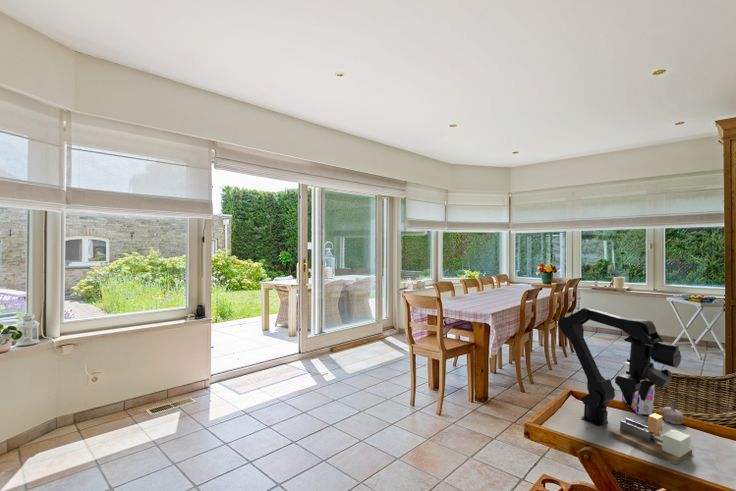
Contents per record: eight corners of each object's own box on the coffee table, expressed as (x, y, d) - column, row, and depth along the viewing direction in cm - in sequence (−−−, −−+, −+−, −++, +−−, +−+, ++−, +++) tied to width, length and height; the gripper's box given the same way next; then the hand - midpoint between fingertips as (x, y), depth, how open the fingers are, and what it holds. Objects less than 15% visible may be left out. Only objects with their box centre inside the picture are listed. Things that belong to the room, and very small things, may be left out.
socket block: (661, 450, 121) (663, 434, 121) (671, 444, 125) (673, 429, 125) (679, 457, 117) (680, 441, 117) (689, 451, 121) (690, 435, 121)
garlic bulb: (670, 415, 149) (671, 395, 149) (690, 425, 142) (692, 403, 142) (655, 417, 147) (656, 396, 147) (674, 427, 140) (676, 405, 140)
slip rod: (640, 436, 128) (642, 413, 127) (646, 433, 130) (648, 410, 129) (677, 451, 119) (678, 427, 119) (682, 448, 121) (684, 424, 121)
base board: (608, 434, 132) (609, 430, 132) (626, 426, 139) (626, 422, 139) (675, 464, 116) (675, 459, 116) (691, 454, 122) (692, 449, 122)
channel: (619, 429, 133) (620, 420, 133) (625, 427, 135) (626, 418, 135) (649, 442, 125) (650, 432, 125) (655, 439, 127) (656, 429, 127)
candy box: (654, 416, 147) (657, 374, 147) (636, 414, 148) (639, 372, 148) (636, 401, 161) (639, 362, 160) (620, 399, 162) (623, 360, 161)
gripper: (654, 370, 118) (650, 419, 119) (681, 361, 128) (677, 407, 129) (615, 358, 128) (612, 404, 128) (643, 351, 137) (639, 394, 138)
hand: (636, 403), depth 131 cm, fingers open, 9 cm apart
